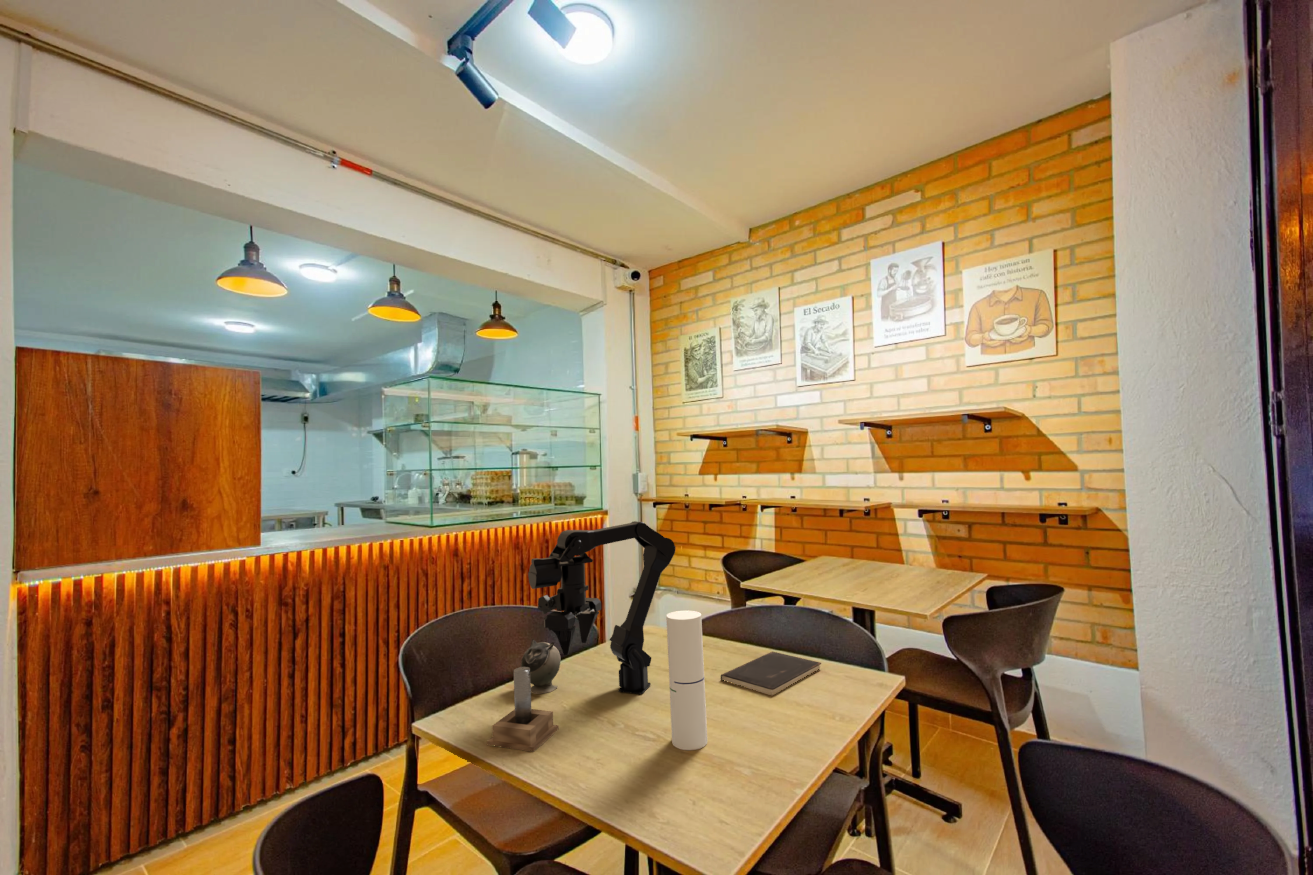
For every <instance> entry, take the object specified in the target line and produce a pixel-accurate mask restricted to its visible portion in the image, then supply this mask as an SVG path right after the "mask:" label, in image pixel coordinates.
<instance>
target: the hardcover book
mask: <svg viewBox="0 0 1313 875" xmlns="http://www.w3.org/2000/svg"><path fill="white" fill-rule="evenodd" d="M820 665H822V662H819V661H815V660H811V659H806V658H801V657H799V656H794V655H790V654H789V655H788V654H786V653H785V654H784V653H780V652H777V651H776V652H775V651H770V652H767V653H766V654H764V655H761V656H759V657H757V658H754V659H753V660H750V661H748V662H745V663H744V664H741V665H739V666H737V667H735V668H732V669H730V670H728V671H726V672H724V673H721V675H720V681H721V680H725V681H728V682H732V683H734V684H733V685H735V684H737V685H736V686H738V685H741V686H740V687H742V686H744V687H743V688H745V687H747V688H746V689H749V690H752V689H753V691H755V690H756V692H759V693H762V694H765V695H769V696H771V697H772V696H774V695H776V694H778V693H780V692H781V690H782V691H783V690H785V689H787V688H788V686H789V685H791V684H792V685H794V684H795V683H794V682H796V683H797V681H798V680H800V679H801V680H803V679H805V678H806V676H807V675H809V676H810V675H812V674H814V673H815V672H814V671H816V672H817V670H818V669H819V670H821V669H820V668H821V666H820ZM819 670H818V671H819ZM813 672H814V673H813ZM811 673H812V674H811ZM804 677H805V678H804ZM807 677H808V676H807ZM802 678H803V679H802ZM801 680H800V681H801ZM725 681H724V682H725ZM728 682H727V683H728ZM798 682H799V681H798ZM732 683H731V684H732ZM793 683H794V684H793ZM792 685H791V686H792ZM786 687H787V688H786ZM789 687H790V686H789Z"/></svg>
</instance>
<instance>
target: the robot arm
mask: <svg viewBox="0 0 1313 875" xmlns="http://www.w3.org/2000/svg"><path fill="white" fill-rule="evenodd" d="M557 537H558V538H557V540H556V545H555V546H554V548H553V550H552V551H551V552H550V554H549V556H548V557H545V558H544V557H543V558H531V561H530V562H531V563H530V565H529V569H528V570H529V571H528V573H527V574H528V577H527V578H528V584H529V586H530V588H531V589H532V590H535V589H541V588H547V587H549V588H550V587H555V586H558V585H559V583H560V584H561V586H560V587H559V588H558V589H557V591H556V594H554V595H552V596H550V597H549V595H548V594H546V595H543V596H541V597H538V599H537V609H538V610H539V611H540V612H542V614H543V615H545V614H547V615H546V616H545V617H544V618H543V623H544V624H543V627H544V628H545V629H548V631H552V633H554V634H555V635H556V638H557V640H558V643H559V645H560V648H561V651H562V654H563V655H564V656H568V655H570V651H571V647H572V643H573V638H574V634H575V630H576V625H575V623H576V619H577V620H578V627H579V636H580V640H581V641H580V642H581V643H582V644H586V643H587V642H588V639H589V637H590V634H591V632H592V629H593V626H594V624H595V622H596V620H597V617H598V615H599V614H600V611H601V610H602V601H601V600H600V599H599V598H598V597H586V596H587V595H586V594H587V593H586V591H589V584H586V570H585V569H586V567H585V564H589V563H593V562H594V560H593V558H591V557H590V556H589V555H588V554H587V553H588V552H590V551H592V550H593V549H595V548H597V547H599V546H602V545H608V544H612V543H613V544H614V543H618V542H621V541H622V542H623V541H626V540H627V541H628V540H630V539H631V540H632V539H634V540H635V541H636V542H637V543H638V544H639V545H640V546H641V547H642V548H643V553H642V560H643V569H642V572H641V574H640V578H639V580H638V584H637V586H636V589H635V592H634V595H633V596H632V597H633V598H632V600H631V603H630V607H629V609H628V613H627V615H626V617H625V620H624V622H623V623H621V625H617V624H615V625H614V627H613V631H612V632H613V633H612V635H611V637H610V638H609V641H610V645H609V646H610V647H609V648H610V650H611V652H612V654H613V655H614V656H615V657H616V659H617V661H618V662H621V663H620V664H619V666H620V667H619V670H618V686H619V687H620V688H618V689H617V690H618V692H619V693H624V694H625V693H626V694H628V693H629V694H635V695H636V694H638V695H643V694H644V693H645V692H646V691H647V689H648V688H649V687H651V685H652V683H651V682H649V675H648V673H649V671H648V668H649V667H650V666H651V662H652V656H651V655H649V654H648V653H647V652H646V651H645V650H643V648H644V643H645V636H644V626H645V623H646V620H647V617H648V613H649V611H650V608H651V604H652V602H653V599H654V596H655V593H656V589H657V587H658V584H659V580H660V578H661V575H662V573H663V572H664V571H665V569H666V568H668V567H669V565H670V563H671V561H672V559H673V558H674V555H675V553H676V546H675V542H674V541H673V540H672V539H671V538H669V537H666V536H663V535H662V534H660V533H659V532H657V531H656V530H654V529H652V528H651V527H650V526H649V525H648V524H647V523H645V522H643V521H637V520H635V521H632V522H629V523H624V524H623V523H622V524H619V525H612V526H608V527H603V528H598V529H592V530H587V529H585V530H584V529H565V530H562V532H560V534H559V535H558V536H557ZM554 610H556V611H554ZM552 611H553V612H552ZM548 612H550V613H549V614H548Z"/></svg>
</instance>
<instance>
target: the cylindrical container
mask: <svg viewBox="0 0 1313 875" xmlns="http://www.w3.org/2000/svg"><path fill="white" fill-rule="evenodd" d="M702 622H703V621H702V613H701V612H699V611H696V610H677V611H671V612H668V613H666V637H667V657H668V658H667V659H668V662H667V664H668V679H669V680H668V681H669V685H668V686H669V705H670V724H671V725H670V726H671V727H670V729H671V742H672V743H671V744H672V745H673V747H675V748H677V749H680V750H683V751H696V750H700V749H702V748H703V747H705V746H707V745H708V727H707V726H708V724H707V706H706V703H707V701H706V684H705V664H704V661H705V660H704V645H703V644H704V643H703V625H702V624H703V623H702Z"/></svg>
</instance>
